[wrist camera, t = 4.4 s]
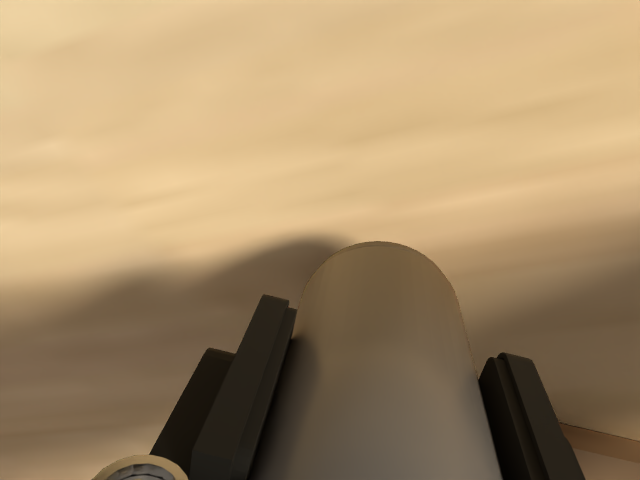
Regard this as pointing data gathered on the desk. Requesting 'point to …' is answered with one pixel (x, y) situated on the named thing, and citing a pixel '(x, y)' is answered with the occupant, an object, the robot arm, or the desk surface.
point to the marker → (378, 378)
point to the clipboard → (604, 454)
